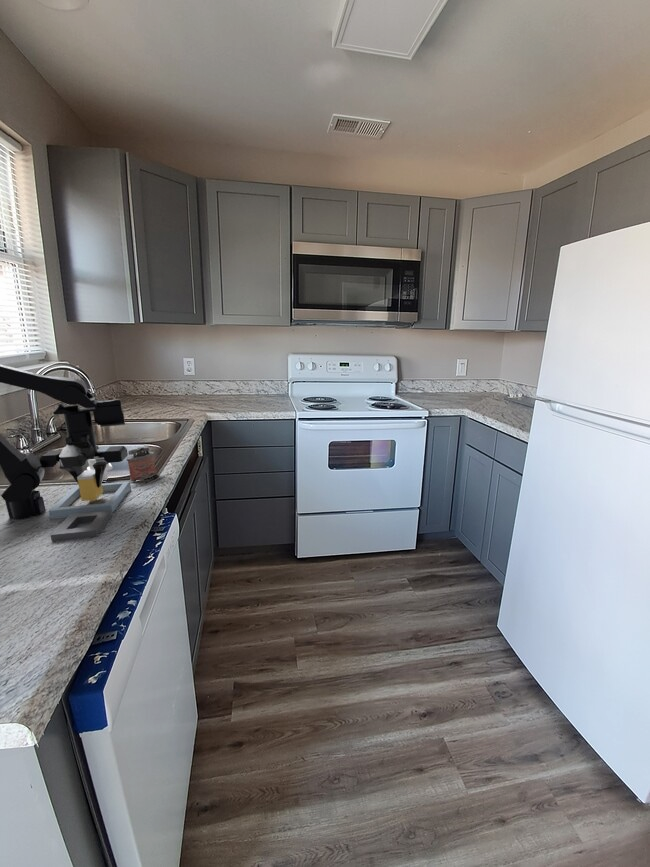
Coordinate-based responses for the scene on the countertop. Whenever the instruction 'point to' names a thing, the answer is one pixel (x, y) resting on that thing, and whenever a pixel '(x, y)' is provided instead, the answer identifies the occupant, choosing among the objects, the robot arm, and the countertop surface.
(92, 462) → the pipe fitting
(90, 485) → the yellow and white block
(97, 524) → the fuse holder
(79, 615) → the countertop surface
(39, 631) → the countertop surface
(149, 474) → the lighter
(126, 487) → the parts tray
